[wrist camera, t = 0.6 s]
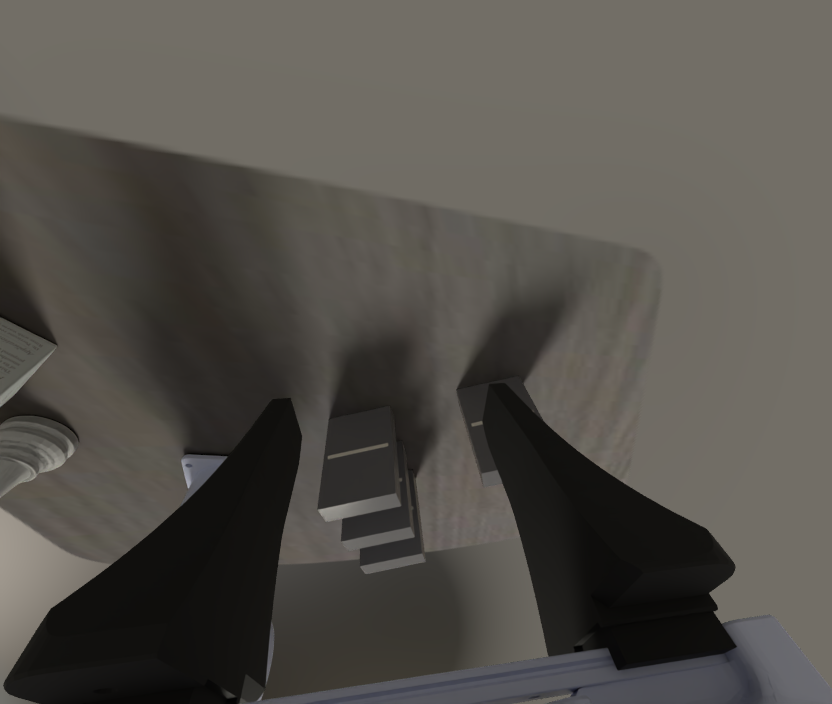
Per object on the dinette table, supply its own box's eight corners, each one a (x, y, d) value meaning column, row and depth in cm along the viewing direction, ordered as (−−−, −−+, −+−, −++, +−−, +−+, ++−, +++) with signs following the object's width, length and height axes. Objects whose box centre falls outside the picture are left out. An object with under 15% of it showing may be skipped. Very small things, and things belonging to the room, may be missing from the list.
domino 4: (518, 390, 27) (560, 471, 21) (458, 404, 27) (483, 488, 21) (518, 375, 26) (562, 455, 20) (456, 388, 26) (481, 472, 20)
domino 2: (406, 451, 30) (415, 537, 24) (352, 463, 31) (348, 551, 25) (401, 439, 29) (410, 526, 23) (346, 452, 29) (340, 541, 24)
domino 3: (415, 478, 33) (425, 562, 27) (366, 489, 33) (365, 574, 27) (412, 469, 32) (422, 553, 26) (361, 479, 32) (359, 566, 26)
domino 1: (394, 419, 28) (401, 506, 22) (336, 432, 28) (326, 522, 22) (389, 405, 27) (395, 492, 21) (328, 418, 27) (317, 509, 21)
